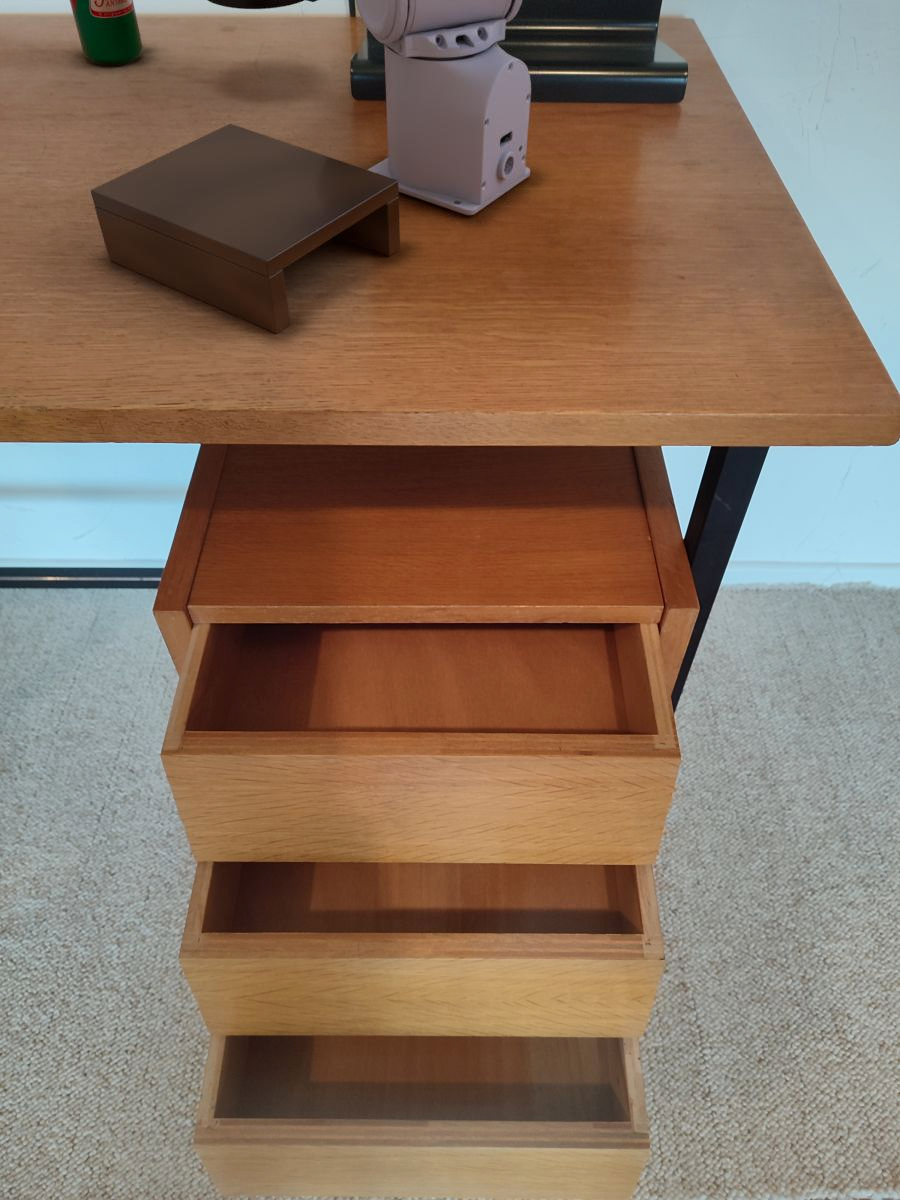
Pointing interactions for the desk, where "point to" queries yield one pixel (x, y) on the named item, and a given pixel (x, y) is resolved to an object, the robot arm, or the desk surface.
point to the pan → (256, 3)
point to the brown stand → (241, 218)
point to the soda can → (107, 30)
